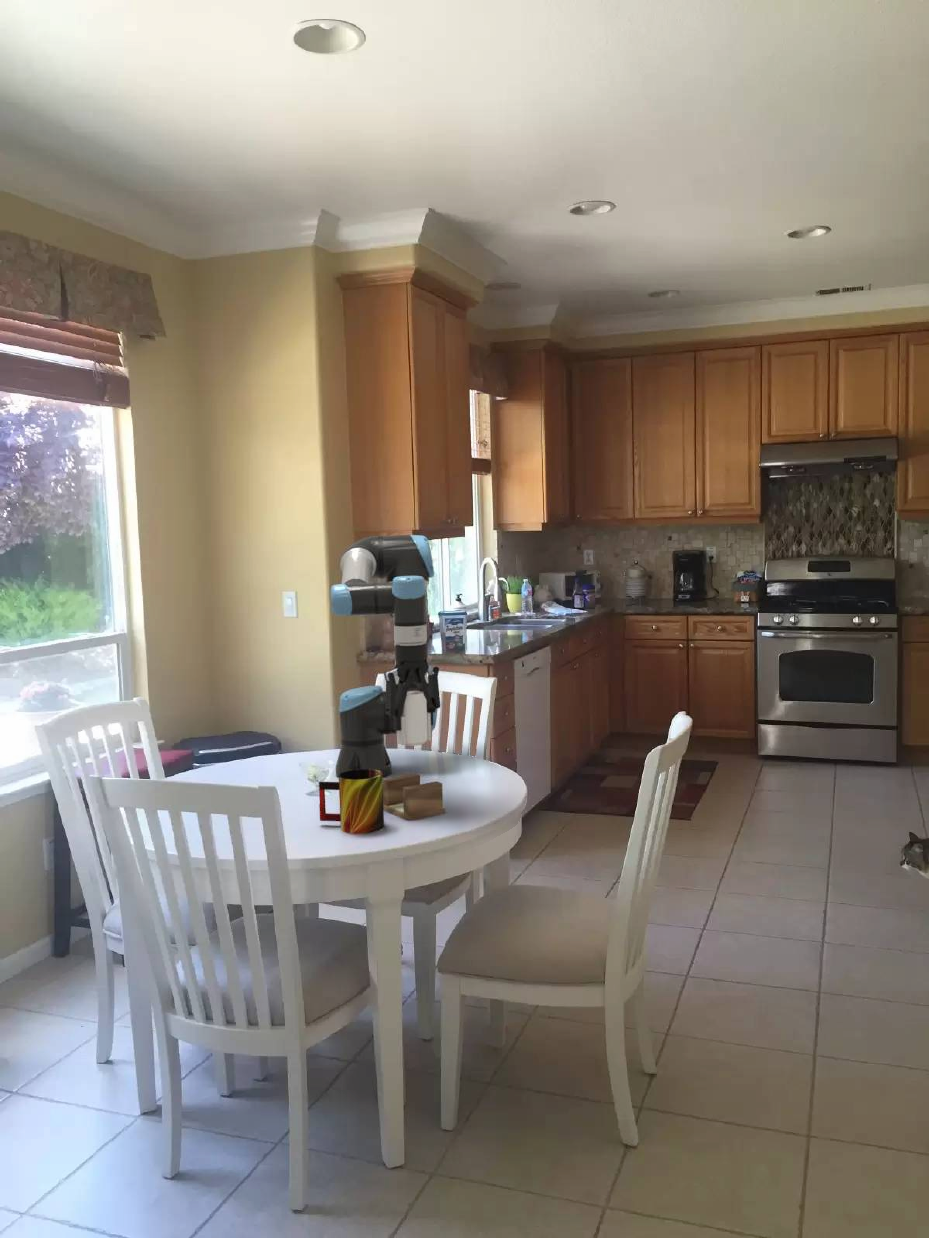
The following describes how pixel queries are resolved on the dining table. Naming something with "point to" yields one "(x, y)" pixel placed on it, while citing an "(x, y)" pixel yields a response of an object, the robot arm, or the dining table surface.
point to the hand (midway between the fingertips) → (414, 741)
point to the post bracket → (412, 797)
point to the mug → (356, 801)
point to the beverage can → (415, 718)
